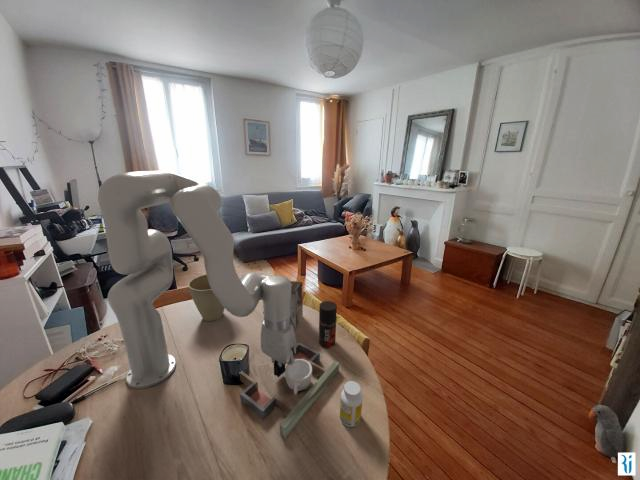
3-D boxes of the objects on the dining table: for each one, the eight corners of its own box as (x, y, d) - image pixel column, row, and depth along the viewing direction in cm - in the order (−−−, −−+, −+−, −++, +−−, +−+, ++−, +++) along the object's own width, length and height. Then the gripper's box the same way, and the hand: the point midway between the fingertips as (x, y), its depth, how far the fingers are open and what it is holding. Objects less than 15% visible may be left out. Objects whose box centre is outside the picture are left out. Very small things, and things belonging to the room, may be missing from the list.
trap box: (217, 384, 73) (216, 375, 72) (277, 338, 93) (277, 331, 92) (285, 438, 59) (284, 428, 58) (338, 370, 79) (339, 362, 78)
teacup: (288, 372, 78) (288, 357, 76) (313, 374, 77) (313, 359, 76) (280, 401, 68) (280, 385, 67) (309, 404, 68) (309, 388, 66)
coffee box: (288, 314, 107) (287, 279, 102) (303, 316, 106) (302, 281, 101) (280, 327, 99) (279, 290, 94) (296, 330, 97) (296, 292, 93)
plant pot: (203, 332, 95) (197, 294, 91) (187, 316, 105) (182, 281, 100) (239, 316, 106) (236, 281, 101) (222, 302, 115) (218, 270, 111)
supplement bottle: (341, 428, 62) (343, 398, 59) (337, 408, 67) (339, 379, 64) (363, 426, 62) (365, 396, 59) (358, 406, 67) (360, 377, 64)
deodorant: (321, 349, 88) (322, 311, 83) (316, 338, 93) (317, 302, 89) (337, 346, 89) (339, 309, 85) (332, 335, 95) (333, 300, 90)
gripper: (249, 317, 71) (252, 369, 77) (289, 337, 63) (290, 394, 69) (268, 305, 77) (270, 354, 83) (307, 322, 69) (307, 376, 75)
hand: (279, 372), depth 76 cm, fingers closed
